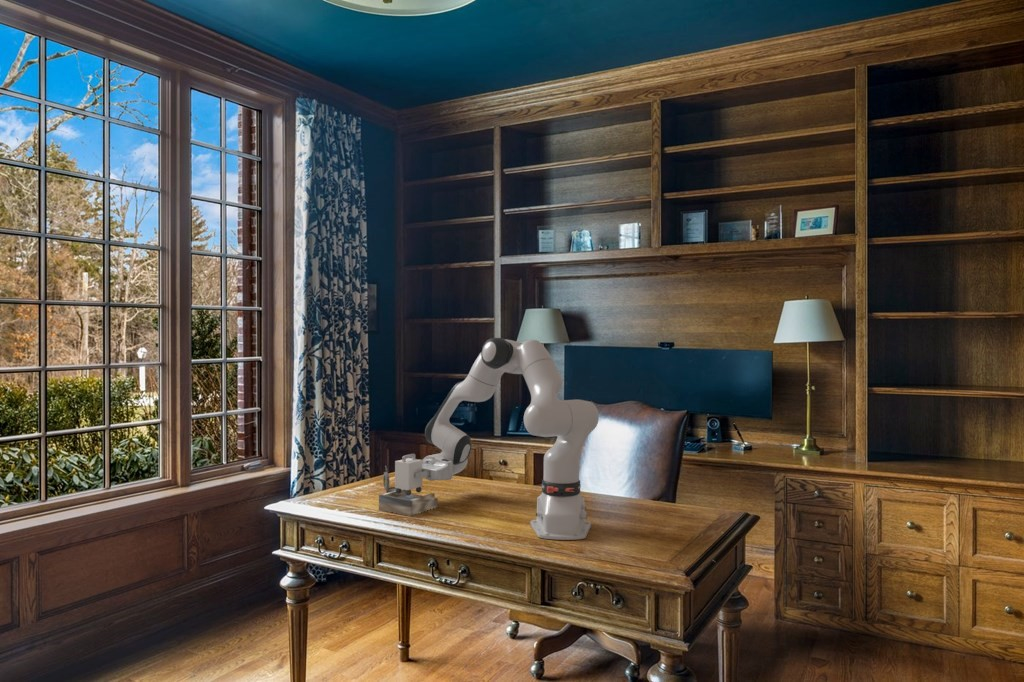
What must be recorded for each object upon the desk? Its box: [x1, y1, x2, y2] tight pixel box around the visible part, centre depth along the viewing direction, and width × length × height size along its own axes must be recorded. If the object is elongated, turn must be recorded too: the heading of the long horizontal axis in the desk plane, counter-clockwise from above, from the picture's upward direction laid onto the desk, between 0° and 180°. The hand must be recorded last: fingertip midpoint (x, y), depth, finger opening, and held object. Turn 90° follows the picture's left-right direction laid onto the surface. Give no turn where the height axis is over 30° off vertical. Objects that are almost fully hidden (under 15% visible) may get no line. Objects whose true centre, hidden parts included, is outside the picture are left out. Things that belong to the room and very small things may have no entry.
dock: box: [378, 489, 439, 517], centre depth 231 cm, size 14×14×5 cm
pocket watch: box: [382, 465, 396, 493], centre depth 256 cm, size 8×8×10 cm
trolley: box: [394, 453, 423, 496], centre depth 231 cm, size 7×6×13 cm
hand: (407, 474), depth 231 cm, fingers closed on trolley, 6 cm apart
